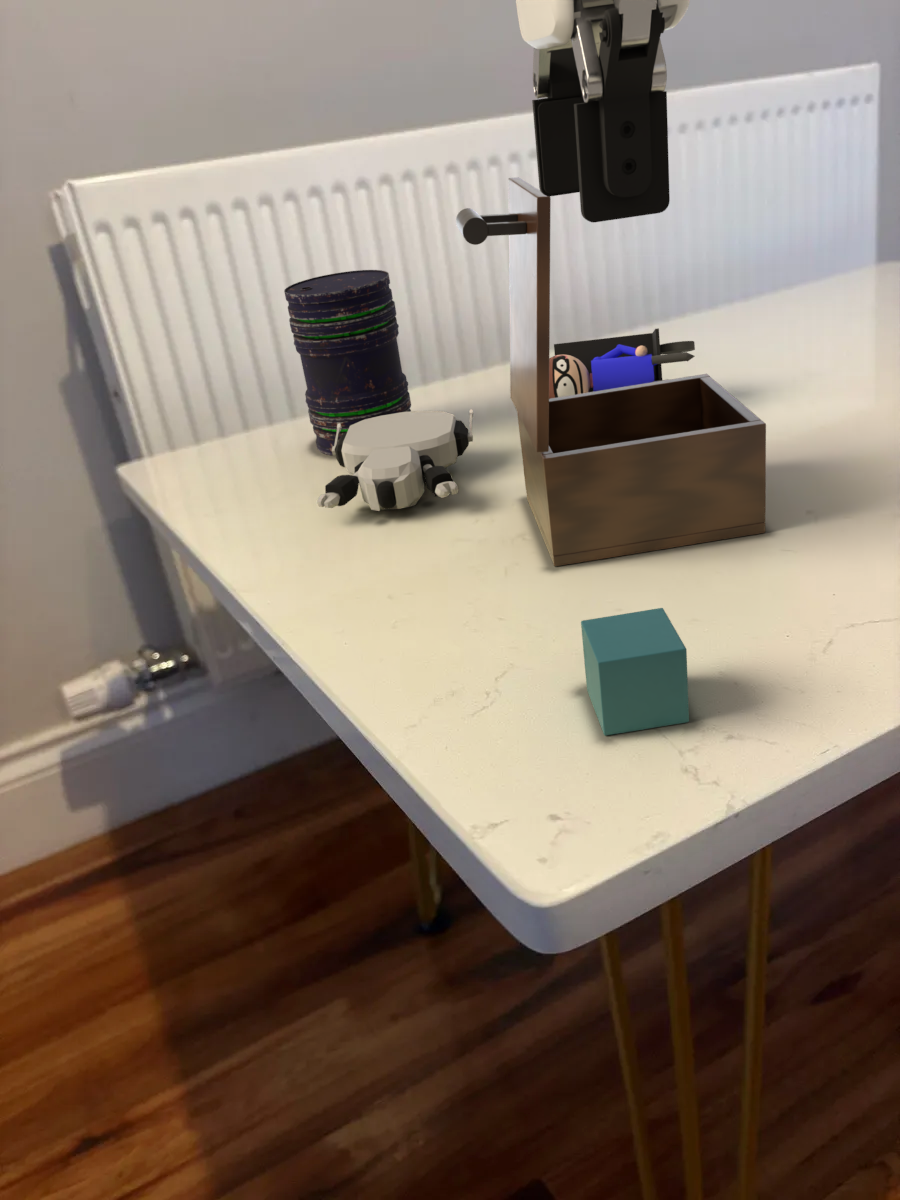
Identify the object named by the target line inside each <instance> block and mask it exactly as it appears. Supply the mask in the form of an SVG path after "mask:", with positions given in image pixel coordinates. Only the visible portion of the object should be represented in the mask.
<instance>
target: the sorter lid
mask: <svg viewBox="0 0 900 1200" xmlns="http://www.w3.org/2000/svg"><path fill="white" fill-rule="evenodd" d="M507 184H508V185H507V187H508V189H507V191H508V213H497V214H480V213H478V212H477V211H476V210H475V209H473V208H469V207H465V208H463V209H462V210H460V211H459V212H458V214H457V215H456V216H455V217H456V218H455V225H456V228H457V230H458V231H459V232H460V234H461V235H462V237H463V238H464V240H465V241H466V242H467V243H468V244H470V245H473V246H477V245H480V244H483V243H484V242H485V241H486V240H487V238H488V237H497V236H498V237H499V236H508V265H509V266H508V275H509V276H508V277H509V278H508V279H509V280H508V282H509V283H508V287H509V294H508V295H509V382H510V383H509V385H510V386H509V387H510V389H509V393H510V399H511V402H512V404H513V406H514V408H515V411H516V413H517V412H518V414H519V416H520V418H521V420H522V422H523V425H524V427H525V429H526V431H527V433H528V435H529V437H530V439H531V441H532V443H533V445H534V447H535V449H536V452H548V451H549V358H550V343H551V342H550V336H551V335H550V333H551V331H550V330H551V329H550V328H551V323H550V322H551V321H550V319H551V215H552V213H551V212H552V211H551V208H552V207H551V206H552V205H551V203H552V201H551V199H552V198H551V197H552V196H546V195H544V194H543V193H541V191H540V188H537V187H535V186H534V185H532V184H531V183H529V182H527V181H526V180H524V179H523V178H521V177H520V176H516V177H508V180H507ZM518 414H517V415H518Z"/></svg>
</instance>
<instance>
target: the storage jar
mask: <svg viewBox="0 0 900 1200" xmlns="http://www.w3.org/2000/svg"><path fill="white" fill-rule="evenodd" d="M389 273H390V272H388V271H386V270H381V269H360V270H349V271H342V272H341V271H340V272H334V273H330V274H325V275H324V274H323V275H320V276H316V277H312V278H311V277H310V278H308V279H304V280H301V281H297V282H296V283H293V284H291V285H289V286H287V287H286V288H285V289H284V291H283V293H284V297H285V300H286V302H287V304H288V306H287V311H288V315H289V319H288V322H289V327H290V329H291V330H290V331H291V333H292V334H293V335H292V337H293V340H294V341H293V346H295V347H294V348H295V351H296V353H298V354H299V357H300V361H301V367H302V371H303V376H304V381H305V385H306V390H305V393H304V396H305V403H306V406H307V408H308V410H307V412H308V413H307V414H308V418H309V421H310V424H311V425H312V430H313V433H314V435H315V438H316V439H315V445H316V450H318V451H319V452H320V453H322V454H325V455H328V456H333V454H332V447H333V446H334V444H335V439H336V433H337V424H339V423H340V424H341V431H340V435H339V439H340V438H341V436H342V434H343V433H345V432H348V429H349V427H350V426H351V425H353V424H355V423H357V422H360V421H362V420H365V419H369V418H373V417H378V416H382V415H388V414H394V413H400V412H412V410H411V407H412V402H411V401H412V400H411V395H410V392H409V387H408V386H409V382H408V380H407V375H406V374H405V373H404V372H403V368H402V362H401V356H400V351H399V343H398V336H399V333H400V332H399V327H400V326H399V324H398V319H397V317H396V316H397V309H396V308H397V307H396V302H395V301H394V299H393V292H392V289H391V288H390V284H391V279H390V274H389ZM338 441H339V440H338Z"/></svg>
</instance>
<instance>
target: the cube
mask: <svg viewBox="0 0 900 1200" xmlns="http://www.w3.org/2000/svg"><path fill="white" fill-rule="evenodd" d="M580 626H581V627H580V628H581V640H582V650H583V661H584V673H585V683H586V684H585V685H586V691H587V694H588V697H589V699H590V702H591V704H592V707H593V709H594V713H595V715H596V718H597V720H598V722H599V726H600V728H601V731H602V734H603V736H604V737H605V736H613V735H617V734H623V733H630V732H636V731H642V730H649V729H655V728H660V727H661V728H662V727H666V726H667V727H668V726H672V725H673V726H674V725H680V724H685V723H689V722H690V709H689V705H690V704H689V682H688V678H689V677H688V651H687V648H686V645H685V643H684V642H683V640H682V639H681V637H680V634H679V633H678V631H677V630H676V628H675V627H674V624H673V623H672V622H671V619H670V618H669V616H668V614H667V613H666V611H665V609H664V608H663V607H658V608H651V609H645V610H640V611H634V612H627V613H622V614H614V615H609V616H602V617H597V618H590V619H584V620H581V621H580Z"/></svg>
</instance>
